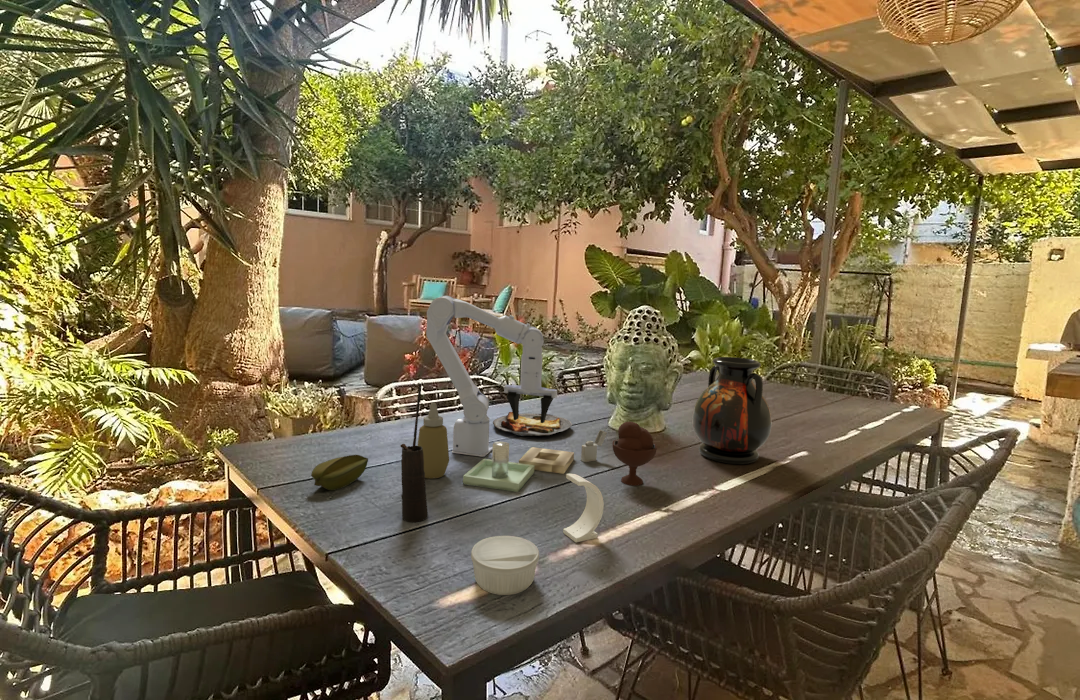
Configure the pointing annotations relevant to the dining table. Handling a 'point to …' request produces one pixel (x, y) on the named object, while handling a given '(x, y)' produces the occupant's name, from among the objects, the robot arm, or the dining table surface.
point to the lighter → (592, 448)
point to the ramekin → (504, 564)
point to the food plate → (532, 424)
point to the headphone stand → (586, 512)
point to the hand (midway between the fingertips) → (529, 420)
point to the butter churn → (413, 478)
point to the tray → (513, 482)
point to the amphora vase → (732, 413)
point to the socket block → (548, 459)
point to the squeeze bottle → (434, 444)
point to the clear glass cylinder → (500, 460)
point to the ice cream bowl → (633, 450)
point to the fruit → (339, 471)
